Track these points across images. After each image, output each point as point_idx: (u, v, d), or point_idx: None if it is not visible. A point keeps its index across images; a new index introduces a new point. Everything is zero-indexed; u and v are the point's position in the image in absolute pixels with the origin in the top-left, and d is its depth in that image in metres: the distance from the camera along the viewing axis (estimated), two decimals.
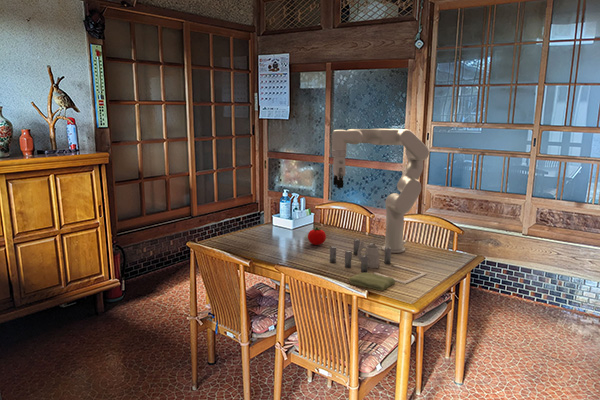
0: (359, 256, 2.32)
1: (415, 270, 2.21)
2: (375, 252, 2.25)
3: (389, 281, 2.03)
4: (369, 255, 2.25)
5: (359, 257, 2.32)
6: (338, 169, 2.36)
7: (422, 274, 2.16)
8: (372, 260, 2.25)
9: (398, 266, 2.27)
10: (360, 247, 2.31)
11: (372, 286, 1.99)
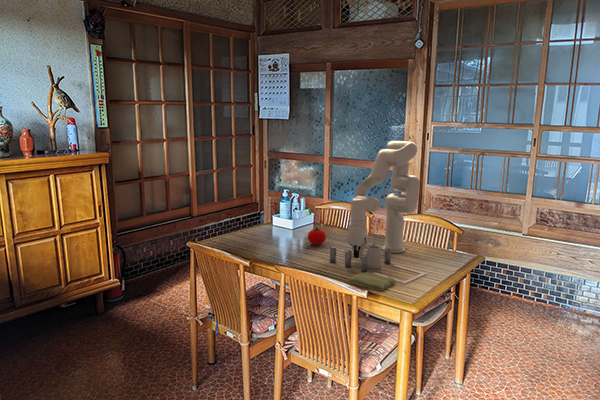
0: None
1: (415, 270, 2.21)
2: (377, 252, 2.24)
3: (389, 281, 2.03)
4: (371, 255, 2.25)
5: None
6: None
7: (422, 274, 2.16)
8: (374, 261, 2.25)
9: (398, 266, 2.27)
10: (362, 247, 2.30)
11: (372, 286, 1.99)
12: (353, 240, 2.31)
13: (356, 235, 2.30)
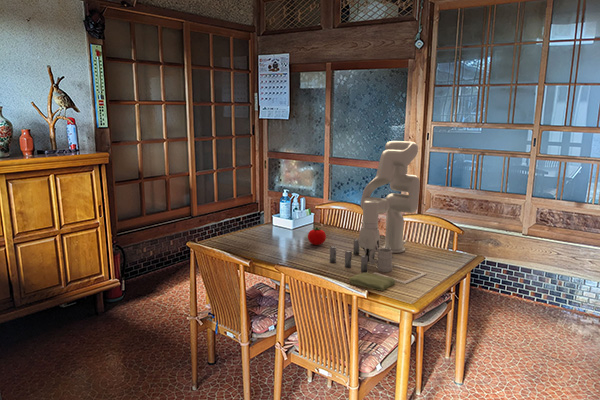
0: (371, 260, 2.25)
1: (415, 270, 2.21)
2: (389, 256, 2.20)
3: (389, 281, 2.02)
4: (383, 259, 2.20)
5: (371, 261, 2.25)
6: None
7: (422, 274, 2.16)
8: (386, 264, 2.20)
9: (398, 266, 2.27)
10: (372, 251, 2.24)
11: (372, 286, 1.99)
12: (365, 243, 2.26)
13: (368, 239, 2.24)
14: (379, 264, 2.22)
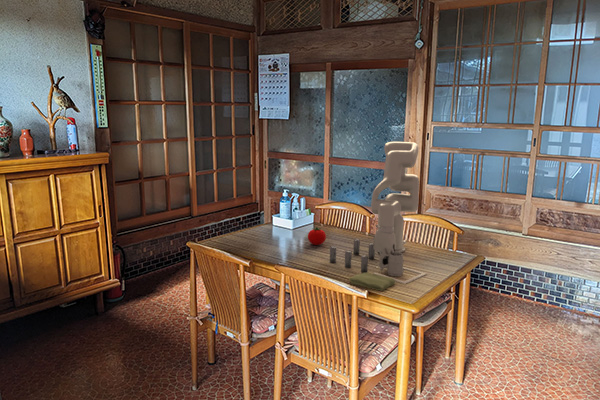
0: (381, 265, 2.18)
1: (415, 270, 2.21)
2: (401, 259, 2.14)
3: (389, 281, 2.02)
4: (395, 263, 2.14)
5: (381, 266, 2.19)
6: None
7: (422, 274, 2.16)
8: (398, 268, 2.14)
9: None
10: (382, 255, 2.17)
11: (372, 286, 1.99)
12: (381, 247, 2.20)
13: (383, 242, 2.18)
14: (391, 269, 2.15)
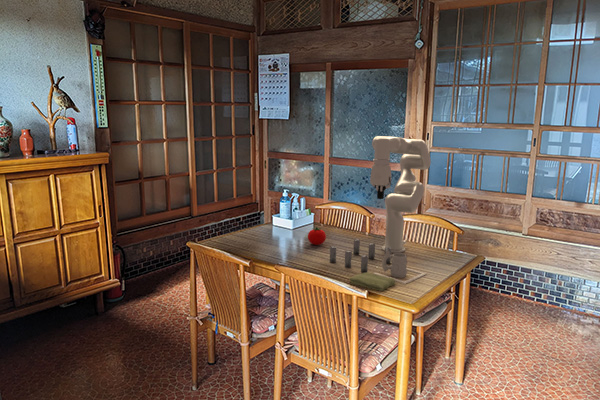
0: (384, 266, 2.17)
1: (415, 270, 2.21)
2: (404, 260, 2.13)
3: (389, 282, 2.02)
4: (399, 264, 2.12)
5: (385, 268, 2.17)
6: None
7: (422, 274, 2.16)
8: (402, 270, 2.13)
9: None
10: (386, 257, 2.16)
11: (372, 286, 1.99)
12: (377, 180, 2.30)
13: (380, 175, 2.28)
14: (394, 270, 2.14)
